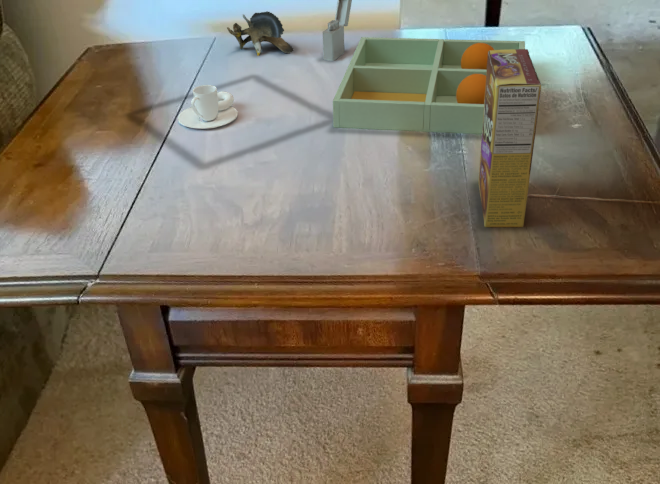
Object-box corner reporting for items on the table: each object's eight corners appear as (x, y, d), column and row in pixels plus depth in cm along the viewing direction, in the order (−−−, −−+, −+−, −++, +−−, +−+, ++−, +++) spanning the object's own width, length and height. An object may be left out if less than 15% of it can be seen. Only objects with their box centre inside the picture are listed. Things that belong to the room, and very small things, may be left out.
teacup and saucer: (223, 100, 106) (220, 71, 104) (254, 118, 101) (251, 88, 99) (167, 118, 102) (162, 88, 100) (197, 137, 97) (192, 107, 95)
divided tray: (521, 69, 111) (524, 40, 108) (522, 140, 93) (527, 108, 90) (361, 64, 115) (361, 37, 112) (333, 131, 97) (332, 100, 94)
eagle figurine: (228, 54, 117) (284, 44, 115) (224, 7, 117) (279, -4, 114) (246, 66, 125) (299, 56, 122) (242, 21, 124) (294, 11, 122)
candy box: (474, 186, 85) (487, 48, 75) (513, 186, 84) (532, 47, 75) (480, 229, 78) (496, 83, 68) (523, 229, 77) (545, 82, 68)
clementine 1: (496, 73, 108) (500, 38, 105) (495, 87, 104) (499, 50, 101) (460, 72, 109) (463, 37, 106) (458, 86, 105) (461, 49, 102)
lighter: (333, 62, 116) (331, 7, 111) (323, 60, 117) (321, 6, 112) (352, 46, 121) (352, -6, 116) (342, 45, 122) (341, -7, 117)
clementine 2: (494, 106, 100) (498, 68, 96) (494, 122, 96) (498, 83, 93) (455, 104, 100) (458, 67, 97) (453, 120, 97) (456, 82, 94)
